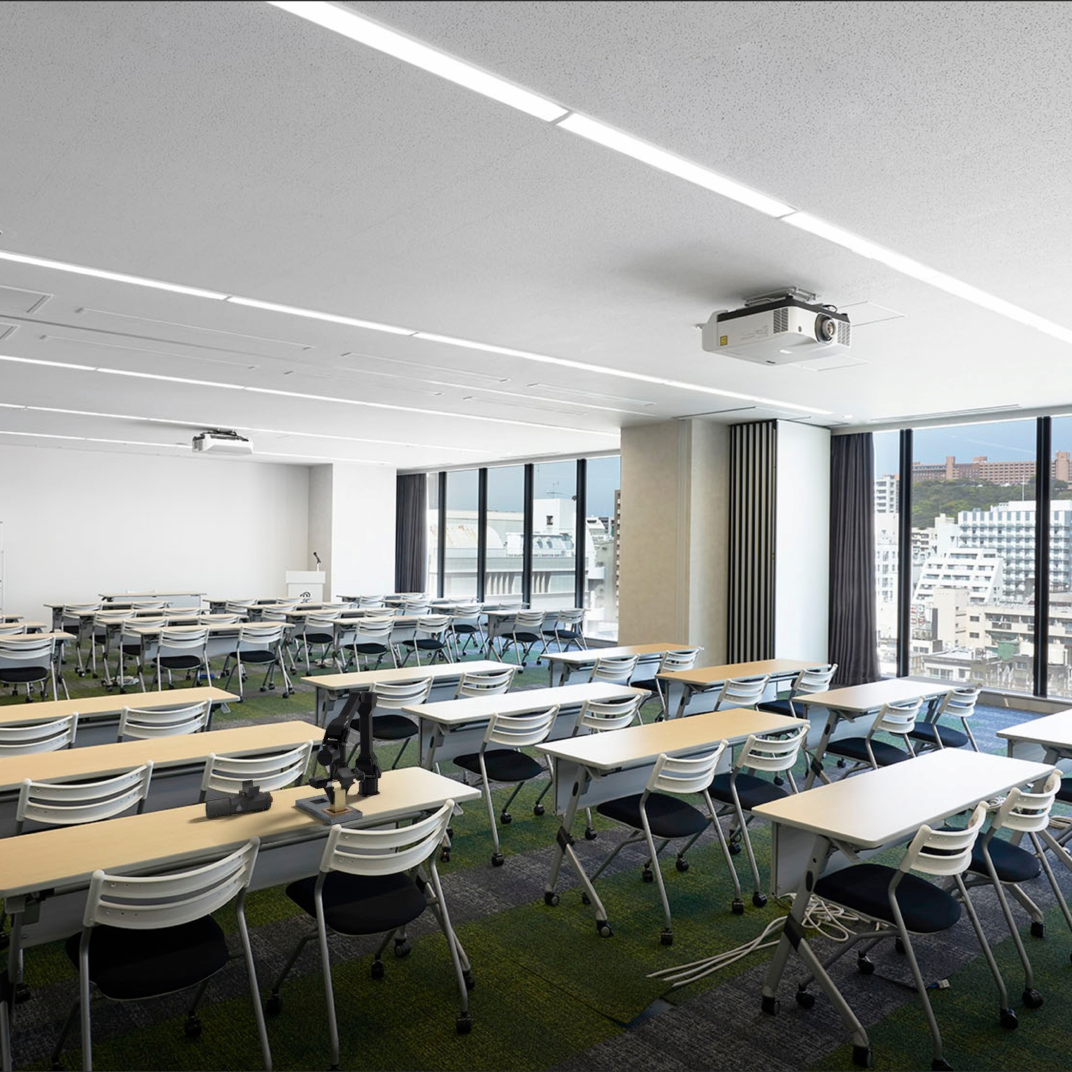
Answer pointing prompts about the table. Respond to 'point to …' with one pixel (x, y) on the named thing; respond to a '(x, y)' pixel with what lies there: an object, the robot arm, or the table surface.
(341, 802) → the brass peg
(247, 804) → the laser sight
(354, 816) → the socket plate
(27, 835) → the table surface
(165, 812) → the table surface
